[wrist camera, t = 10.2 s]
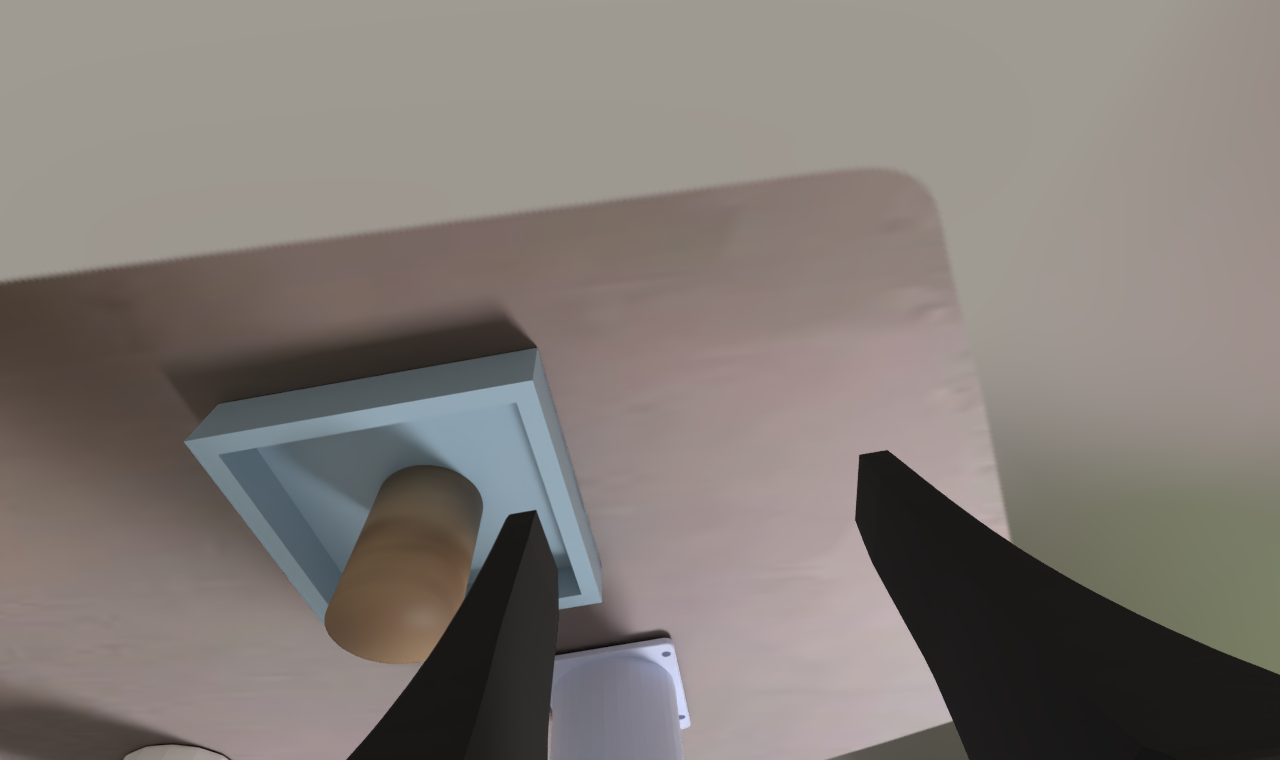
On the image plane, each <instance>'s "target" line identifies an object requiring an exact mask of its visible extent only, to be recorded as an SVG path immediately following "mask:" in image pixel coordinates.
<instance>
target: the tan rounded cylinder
mask: <svg viewBox="0 0 1280 760" xmlns="http://www.w3.org/2000/svg"><path fill="white" fill-rule="evenodd" d="M482 513H483V501H482V497H481V495H480V492H479V491H478V489H477V488H476V487H475V485H474V484H473V483H472V482H471V481H470V480H468V479H467V478H466V477H464V476H463V475H461V474H459V473H457V472H455V471H453V470H450V469H447V468H444V467H439V466H433V465H417V466H411V467H407V468H403V469H401V470H398V471H396V472H395V473H393V474H391V475H390V476H389V477H388V478H387V479H386V480H385V481H384V482H383V484H382V485H381V487H380V490H379V492H378V494H377V496H376V499H375V501H374V503H373V505H372V508H371V510H370V512H369V515H368V517H367V519H366V521H365V524H364V526H363V528H362V530H361V533H360V535H359V537H358V540H357V542H356V544H355V546H354V549H353V551H352V553H351V555H350V558H349V560H348V562H347V564H346V567H345V569H344V571H343V574H342V576H341V578H340V580H339V583H338V585H337V587H336V589H335V592H334V594H333V596H332V599H331V601H330V603H329V605H328V608H327V610H326V613H325V617H324V622H325V627H326V630H327V632H328V634H329V635H330V637H331V638H332V639H333V640H334V641H335V642H336V643H337V644H338V645H339V646H340V647H342V648H343V649H345V650H346V651H348V652H350V653H352V654H354V655H356V656H358V657H361V658H364V659H367V660H370V661H375V662H380V663H387V664H408V663H415V662H421V661H424V660H426V659H427V658H428V656H429V655H430V653H431V652H432V650H433V649H434V647H435V646H436V644H437V643H438V641H439V640H440V638H441V637H442V635H443V633H444V632H445V630H446V629H447V627H448V625H449V624H450V622H451V620H452V619H453V617H454V616H455V614H456V612H457V611H458V609H459V607H460V606H461V604H462V602H463V601H464V598H465V593H466V588H467V583H468V579H469V574H470V569H471V565H472V560H473V555H474V550H475V546H476V541H477V536H478V532H479V527H480V522H481V517H482Z"/></svg>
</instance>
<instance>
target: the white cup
mask: <svg viewBox="0 0 1280 760" xmlns="http://www.w3.org/2000/svg"><path fill="white" fill-rule="evenodd" d="M123 760H229V759H227V758H226V757H224V756H223V755H220V754H217V753H214V752H211V751H208V750H205V749H202V748H199V747H191V746H182V745H173V744H170V745H158V746H148V747H144V748H142V749H139V750H137V751H134V752H132V753H130V754H128V755H126V757H125V758H124V759H123Z"/></svg>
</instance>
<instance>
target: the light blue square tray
mask: <svg viewBox="0 0 1280 760" xmlns="http://www.w3.org/2000/svg"><path fill="white" fill-rule="evenodd" d="M184 443H185V444H186V445H187V447H188V448H189V449H190V451H191V452H192V453H193V454H194V456H195V457H196V458H197V460H198V461H199V462H200V464H201V465H202V466H203V468H204V469H205V470H206V471H207V473H208V474H209V475H210V477H211V478H212V479H213V481H214V482H215V483H216V485H217V486H218V487H219V488H220V490H221V491H222V492H223V494H224V495H225V496H226V498H227V499H228V500H229V502H230V503H231V504H232V505H233V507H234V508H235V509H236V511H237V512H238V513H239V515H240V516H241V517H242V519H243V520H244V521H245V523H246V524H247V525H248V526H249V528H250V529H251V530H252V532H253V533H254V534H255V536H256V537H257V538H258V540H259V541H260V542H261V543H262V545H263V546H264V547H265V549H266V550H267V551H268V553H269V554H270V555H271V557H272V558H273V559H274V560H275V562H276V563H277V564H278V566H279V567H280V568H281V570H282V571H283V572H284V574H285V575H286V576H287V578H288V579H289V580H290V581H291V583H292V584H293V585H294V587H295V588H296V589H297V591H298V592H299V593H300V595H301V596H302V597H303V598H304V600H305V601H306V602H307V604H308V605H309V606H310V608H311V609H312V610H313V612H314V613H315V614H316V615H317V617H318V618H319V619H320V621H321V622H322V623H323V625H324V626H325V622H324V617H325V613H326V610H327V608H328V605H329V603H330V601H331V599H332V596H333V594H334V592H335V589H336V587H337V585H338V583H339V580H340V578H341V576H342V574H343V571H344V569H345V567H346V564H347V562H348V560H349V558H350V555H351V553H352V551H353V549H354V546H355V544H356V542H357V540H358V537H359V535H360V533H361V530H362V528H363V526H364V524H365V521H366V519H367V517H368V515H369V512H370V510H371V508H372V505H373V503H374V501H375V499H376V496H377V494H378V492H379V490H380V487H381V485H382V484H383V482H384V481H385V480H386V479H387V478H388V477H389V476H390V475H391V474H393V473H395V472H396V471H398V470H401V469H403V468H407V467H411V466H417V465H433V466H439V467H444V468H447V469H450V470H453V471H455V472H457V473H459V474H461V475H463V476H464V477H466V478H467V479H468V480H470V481H471V482H472V483H473V484H474V485H475V487H476V488H477V489H478V491H479V492H480V495H481V497H482V501H483V513H482V517H481V522H480V527H479V532H478V536H477V541H476V546H475V550H474V555H473V560H472V565H471V569H470V574H469V579H468V583H467V588H466V593H465V597H466V595H467V593H468V592H469V590H470V588H471V586H472V584H473V583H474V581H475V579H476V577H477V575H478V574H479V572H480V570H481V568H482V566H483V564H484V562H485V560H486V558H487V556H488V554H489V552H490V550H491V548H492V546H493V544H494V542H495V540H496V538H497V536H498V534H499V532H500V530H501V528H502V526H503V524H504V522H505V520H506V518H507V517H508V516H509V514H514V513H520V512H526V511H532V510H536V511H537V513H538V516H539V519H540V522H541V524H542V527H543V530H544V533H545V535H546V538H547V541H548V544H549V546H550V549H551V552H552V555H553V557H554V560H555V563H556V566H557V568H558V590H559V609H565V608H571V607H578V606H584V605H590V604H596V603H602V575H601V560H600V557H599V554H598V550H597V547H596V543H595V540H594V537H593V533H592V530H591V527H590V523H589V520H588V517H587V513H586V510H585V506H584V503H583V500H582V496H581V493H580V490H579V486H578V483H577V479H576V476H575V473H574V469H573V466H572V463H571V459H570V456H569V452H568V449H567V446H566V442H565V439H564V436H563V432H562V429H561V425H560V422H559V419H558V415H557V412H556V409H555V405H554V402H553V398H552V395H551V392H550V388H549V385H548V382H547V378H546V375H545V371H544V368H543V365H542V361H541V358H540V355H539V351H538V348H533V349H527V350H521V351H516V352H510V353H504V354H499V355H493V356H487V357H482V358H476V359H471V360H465V361H459V362H454V363H448V364H442V365H437V366H431V367H425V368H420V369H414V370H408V371H403V372H397V373H391V374H386V375H380V376H374V377H369V378H363V379H357V380H352V381H346V382H340V383H335V384H329V385H323V386H318V387H312V388H306V389H301V390H295V391H289V392H284V393H278V394H272V395H267V396H261V397H255V398H250V399H244V400H238V401H233V402H227V403H221V404H218V405H217V406H216V407H215V408H214V409H213V410H212V411H211V412H210V413H209V415H208V416H207V417H206V418H205V419H204V420H203V421H202V422H201V423H200V424H199V425H198V426H197V427H196V429H195V430H194V431H193V432H192V433H191V434H190V435H189V436H188V437H187V438H186V439H185V440H184ZM464 599H465V598H464Z"/></svg>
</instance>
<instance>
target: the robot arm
mask: <svg viewBox="0 0 1280 760" xmlns="http://www.w3.org/2000/svg"><path fill="white" fill-rule="evenodd" d="M855 521H856V523H857V526H858V529H859V531H860V534H861V536H862V539H863V541H864V544H865V546H866V549H867V551H868V554H869V556H870V558H871V561H872V563H873V565H874V567H875V569H876V571H877V573H878V574H879V576H880V578H881V580H882V582H883V584H884V585H885V587H886V589H887V591H888V593H889V595H890V596H891V598H892V600H893V602H894V604H895V605H896V607H897V609H898V611H899V613H900V615H901V616H902V618H903V620H904V622H905V624H906V625H907V627H908V629H909V631H910V633H911V634H912V636H913V638H914V640H915V642H916V643H917V645H918V647H919V649H920V651H921V652H922V654H923V656H924V658H925V660H926V662H927V664H928V666H929V668H930V670H931V672H932V674H933V676H934V678H935V680H936V683H937V685H938V687H939V689H940V692H941V694H942V696H943V699H944V701H945V703H946V705H947V708H948V710H949V712H950V715H951V717H952V719H953V722H954V724H955V726H956V729H957V731H958V733H959V736H960V738H961V741H962V743H963V745H964V748H965V750H966V752H967V755H968V757H969V760H1280V675H1279V674H1276V673H1274V672H1271V671H1269V670H1266V669H1264V668H1261V667H1259V666H1256V665H1253V664H1251V663H1248V662H1246V661H1243V660H1241V659H1238V658H1236V657H1233V656H1231V655H1227V654H1225V653H1223V652H1221V651H1218V650H1216V649H1213V648H1211V647H1209V646H1207V645H1204V644H1202V643H1200V642H1198V641H1195V640H1193V639H1191V638H1188V637H1186V636H1184V635H1182V634H1179V633H1177V632H1175V631H1173V630H1170V629H1168V628H1166V627H1164V626H1162V625H1160V624H1157V623H1155V622H1153V621H1151V620H1149V619H1147V618H1145V617H1143V616H1141V615H1138V614H1136V613H1134V612H1132V611H1131V610H1128V609H1126V608H1125V607H1123V606H1121V605H1119V604H1117V603H1115V602H1113V601H1111V600H1109V599H1107V598H1105V597H1103V596H1101V595H1099V594H1097V593H1095V592H1093V591H1092V590H1090V589H1088V588H1086V587H1084V586H1082V585H1080V584H1079V583H1076V582H1075V581H1073V580H1071V579H1070V578H1068V577H1066V576H1064V575H1063V574H1061V573H1059V572H1058V571H1056V570H1054V569H1053V568H1051V567H1049V566H1047V565H1046V564H1044V563H1042V562H1041V561H1039V560H1037V559H1036V558H1034V557H1032V556H1031V555H1029V554H1028V553H1026V552H1024V551H1023V550H1021V549H1020V548H1018V547H1016V546H1015V545H1013V544H1012V543H1011V542H1009V541H1008V540H1006V539H1005V538H1003V537H1002V536H1000V535H999V534H997V533H996V532H994V531H993V530H991V529H990V528H988V527H987V526H986V525H984V524H983V523H981V522H980V521H979V520H977V519H976V518H974V517H973V516H972V515H970V514H969V513H968V512H966V511H965V510H964V509H962V508H961V507H960V506H958V505H957V504H955V503H954V502H953V501H951V500H950V499H949V498H947V497H946V496H945V495H944V494H942V493H941V492H940V491H938V490H937V489H936V488H935V487H933V486H932V485H931V484H929V483H928V482H927V481H926V480H924V479H923V478H922V477H921V476H919V475H918V474H917V473H916V472H914V471H913V470H912V469H911V468H909V467H908V466H907V465H906V464H904V463H903V462H902V461H901V460H899V459H898V458H897V457H896V456H894V455H893V454H892V453H890V452H889V451H888V450H885V451H879V452H874V453H868V454H862V455H859V469H858V485H857V500H856V516H855ZM558 618H559V590H558V568H557V566H556V563H555V560H554V557H553V555H552V552H551V549H550V546H549V544H548V541H547V538H546V535H545V533H544V530H543V527H542V524H541V522H540V519H539V516H538V513H537V511H536V510H532V511H526V512H520V513H514V514H509V516H508V517H507V518H506V520H505V522H504V524H503V526H502V528H501V530H500V532H499V534H498V536H497V538H496V540H495V542H494V544H493V546H492V548H491V550H490V552H489V554H488V556H487V558H486V560H485V562H484V564H483V566H482V568H481V570H480V572H479V574H478V575H477V577H476V579H475V581H474V583H473V584H472V586H471V588H470V590H469V592H468V593H467V595H466V597H465V599H464V601H463V602H462V604H461V606H460V607H459V609H458V611H457V612H456V614H455V616H454V617H453V619H452V620H451V622H450V624H449V625H448V627H447V629H446V630H445V632H444V633H443V635H442V637H441V638H440V640H439V641H438V643H437V644H436V646H435V647H434V649H433V650H432V652H431V653H430V655H429V656H428V658H427V659H426V661H425V662H424V664H423V665H422V666H421V668H420V669H419V671H418V672H417V673H416V675H415V676H414V678H413V679H412V680H411V682H410V683H409V684H408V686H407V687H406V688H405V690H404V691H403V692H402V694H401V695H400V696H399V697H398V699H397V700H396V701H395V703H394V704H393V705H392V706H391V708H390V709H389V710H388V711H387V713H386V714H385V715H384V717H383V718H382V719H381V720H380V721H379V723H378V724H377V725H376V726H375V728H374V729H373V730H372V731H371V732H370V734H369V735H368V736H367V737H366V738H365V739H364V740H363V742H362V743H361V744H360V745H359V746H358V747H357V748H356V749H355V751H354V752H353V753H352V754H351V755H350V756H349V757H348V758H347V759H346V760H547V758H548V725H549V712H550V706H551V709H552V711H553V712H552V732H551V751H550V760H684V753H683V745H682V737H681V729H685V728H687V727H689V726H690V717H689V712H688V708H687V703H686V698H685V694H684V689H683V685H682V680H681V675H680V671H679V666H678V662H677V657H676V652H675V648H674V643H673V641H672V640H671V639H669V638H660V639H653V640H647V641H641V642H635V643H629V644H623V645H617V646H611V647H605V648H598V649H592V650H586V651H580V652H574V653H568V654H562V655H556V656H555V651H556V640H557V629H558Z"/></svg>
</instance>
